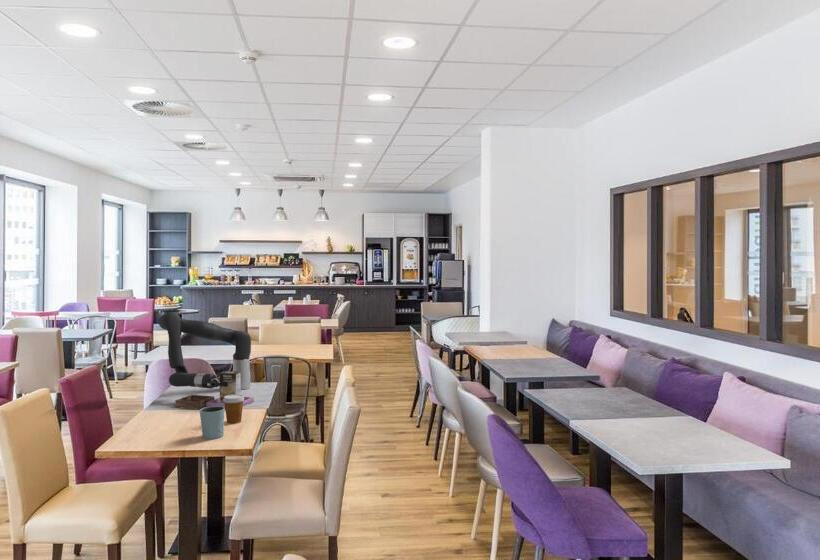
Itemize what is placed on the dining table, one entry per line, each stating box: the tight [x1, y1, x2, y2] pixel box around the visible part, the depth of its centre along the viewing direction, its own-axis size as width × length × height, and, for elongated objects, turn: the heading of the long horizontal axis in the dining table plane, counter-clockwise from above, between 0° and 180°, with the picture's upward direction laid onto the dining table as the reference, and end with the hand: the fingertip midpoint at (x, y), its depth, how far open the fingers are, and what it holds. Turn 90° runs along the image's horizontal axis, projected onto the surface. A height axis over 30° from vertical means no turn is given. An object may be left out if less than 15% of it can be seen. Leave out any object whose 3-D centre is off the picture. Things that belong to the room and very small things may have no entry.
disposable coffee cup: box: [223, 394, 245, 425], centre depth 276 cm, size 10×10×12 cm
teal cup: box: [199, 406, 226, 440], centre depth 254 cm, size 10×10×12 cm
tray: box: [206, 395, 255, 408], centre depth 308 cm, size 17×17×2 cm
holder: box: [174, 394, 215, 410], centre depth 307 cm, size 13×14×4 cm
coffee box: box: [219, 370, 242, 404], centre depth 308 cm, size 9×6×16 cm
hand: (232, 382), depth 307 cm, fingers open, 8 cm apart
